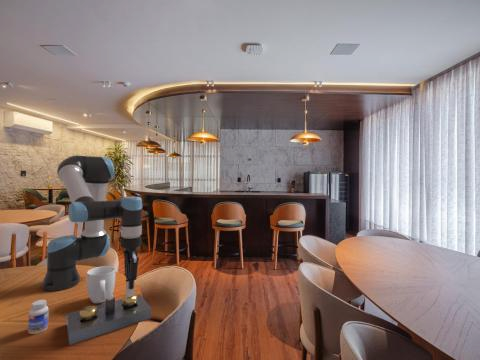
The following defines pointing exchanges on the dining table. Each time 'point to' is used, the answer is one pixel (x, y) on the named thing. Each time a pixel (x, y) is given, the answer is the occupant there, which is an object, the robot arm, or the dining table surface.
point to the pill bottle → (38, 317)
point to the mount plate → (106, 320)
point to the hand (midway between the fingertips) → (130, 295)
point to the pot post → (110, 303)
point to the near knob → (88, 313)
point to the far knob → (129, 301)
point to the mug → (100, 283)
